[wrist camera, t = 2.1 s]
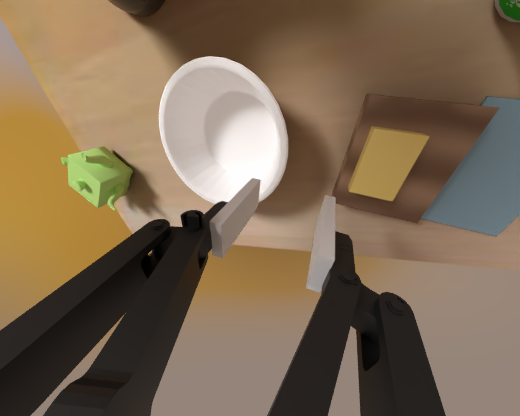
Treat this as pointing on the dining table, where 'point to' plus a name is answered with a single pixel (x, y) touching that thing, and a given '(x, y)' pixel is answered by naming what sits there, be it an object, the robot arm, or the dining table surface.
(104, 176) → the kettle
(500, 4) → the soda can
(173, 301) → the robot arm
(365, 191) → the block
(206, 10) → the dining table surface
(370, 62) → the dining table surface
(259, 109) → the bowl
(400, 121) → the brown wooden slab
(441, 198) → the mat
